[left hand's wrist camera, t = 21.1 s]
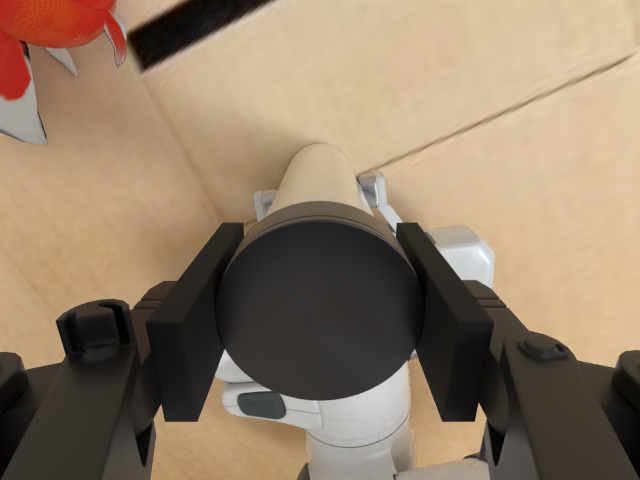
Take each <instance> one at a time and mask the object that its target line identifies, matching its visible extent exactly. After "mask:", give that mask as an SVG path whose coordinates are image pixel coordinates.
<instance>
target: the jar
mask: <svg viewBox="0 0 640 480" xmlns="http://www.w3.org/2000/svg"><path fill="white" fill-rule="evenodd" d="M308 201H332V202H338V203H344V204H347V205H350V206H354V207H356V208H358V209H361V210H363V211H365V212H367V213H369V214H370V215H372V216H373V217H374V215H373V212H372V210H371V208H370V206H369V204H368V202H367V199H366V197H365V195H364V193H363V191H362V189H361V186H360V184H359V182H358V180H357V178H356V176H355V173H354V171H353V169H352V167H351V165H350V162H349V161H348V159H347V157H346V156H345V155H344V154H343V153H342V152H341V151H340V150H339V149H337V148H336V147H334V146H331V145H328V144H323V143H317V144H312V145H308V146H306V147H304V148H302V149H301V150H300V151H298V152H297V153H296V154H295V156H294V157H293V158H292V160H291V162H290V164H289V166H288V169H287V171H286V173H285V175H284V177H283V179H282V182H281V184H280V186H279V188H278V190H277V192H276V195H275V197H274V199H273V201H272V203H271V206H270V208H269V210H268V212H267V214H266V216H268V215H269V214H271V213H273V212H275V211H277V210H279V209H281V208H284V207H287V206H289V205H292V204H297V203H301V202H308ZM266 216H265V217H266Z"/></svg>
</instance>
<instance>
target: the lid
mask: <svg viewBox="0 0 640 480" xmlns="http://www.w3.org/2000/svg"><path fill="white" fill-rule="evenodd" d="M424 314H425V302H424V295H423V290H422V287H421V284H420V281H419V279H418V277H417V275H416V273H415V270H414V269H413V267H412V265H411V263H410V261H409V259H408V258H407V256H406V254H405V252H404V250H403V248H402V247H401V245H400V243H399V242H398V240H397V239H396V237H395V236H394V234H393V233H392V232H391V231H390V230H389V229H388V228H387V227H386V226H385V225H384V224H383V223H381V222H380V221H379V220H378V219H377V218H375V217H373V216H372V215H370V214H369V213H367V212H365V211H363V210H361V209H358V208H356V207H354V206H350V205H347V204H344V203H338V202H332V201H308V202H301V203H297V204H292V205H289V206H287V207H284V208H281V209H279V210H277V211H275V212H273V213H271V214H269V215H268V216H266V217H265V218H263V219H262V220H261V221H259V222H258V223H257V224H256V225H255V226H254V227H253V228H252V229H251V230H250V231H249V232H248V233H247V235H246V236H245V237H244V238H243V240H242V241H241V243H240V245H239V247H238V248H237V250H236V252H235V254H234V256H233V257H232V259H231V261H230V263H229V265H228V266H227V268H226V270H225V272H224V274H223V276H222V279H221V281H220V283H219V286H218V290H217V294H216V300H215V317H216V325H217V330H218V334H219V336H220V339H221V342H222V344H223V346H224V348H225V350H226V351H227V353H228V355H229V356H230V358H231V359H232V360H233V362H234V363H235V364H236V365H237V366H238V367H239V368H240V369H241V370H242V371H243V372H244V373H245V374H246V375H247V376H248V377H250V378H251V379H252V380H254V381H255V382H257V383H258V384H260V385H262V386H263V387H265V388H267V389H269V390H271V391H274V392H276V393H279V394H282V395H285V396H288V397H292V398H296V399H303V400H312V401H327V400H337V399H343V398H348V397H351V396H355V395H358V394H361V393H364V392H366V391H368V390H371V389H373V388H374V387H376V386H378V385H380V384H382V383H383V382H385V381H386V380H387V379H389V378H390V377H392V376H393V375H394V374H395V373H396V372H397V371H398V370H399V369H400V368H401V367H402V366H403V365H404V364H405V363H406V361H407V360H408V359H409V357H410V356H411V354H412V353H413V351H414V350H415V348H416V345H417V343H418V341H419V339H420V336H421V333H422V329H423V323H424Z"/></svg>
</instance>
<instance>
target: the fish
mask: <svg viewBox="0 0 640 480" xmlns="http://www.w3.org/2000/svg"><path fill="white" fill-rule="evenodd" d="M116 1H117V0H0V132H1V133H3V134H6V135H8V136H11V137H13V138H15V139H18V140H20V141H22V142H28V143H35V144H42V145H47V139H46V133H45V130H44V127H43V124H42V121H41V119H40V116H39V113H38V107H37V101H36V94H35V88H34V82H33V75H32V69H31V63H30V57H29V51H28V47H27V44H26V42H27V43H30V44H34V45H39V46H43V48H44V49H45V50H46V51H47V52H48V53H50V54H51V55H52V56H53V57H54V58H56V59H57V60H58V61H59V62H60V63H61V64H63V65H64V66H65V67H66V68H67V69H68V70H69V71H70V72H71V73H72V74H73V75H74V76H76V77H78V73H77V71H76V68H75V65H74V62H73V60H72V58H71V56H70V54H69V53H68V51H67V49H66V48H71V47H77V46H81V45H85V44H87V43H89V42H91V41H92V40H94V39H95V38H97V37H98V36H99V35H101V34H102V33H103V31H105V32H106V34H107V36H108V38H109V39H110V41H111V43H112V45H113V48H114V53H115V62H116V65H117V66H118V67H119V66H120V64H122V63H123V62H124V61H125V59H126V28H125V23H124V21H123V20H122V19H121V18H120V17H119V16H117V15H116V14H115V13H114V11H115V8H116Z"/></svg>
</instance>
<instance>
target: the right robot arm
mask: <svg viewBox="0 0 640 480" xmlns="http://www.w3.org/2000/svg"><path fill="white" fill-rule="evenodd" d="M357 180H358V182H359V184H360V186H361V189H362V191H363V193H364V195H365V197H366V199H367V202H368V204H369V206H370V207H377V209H378V210H379V211H380V213H381V214H382V215H383V216H384V218H385V219H386V220H387V222H382V223H383V224H384V225H385V226H386V227H387V228H388V229H389V230H390V231H391V232H392V233H393V234H394V236H395V237H396V226H397V223H403V221H402V220H401V218H400V217H399V216H398V214H397V213H396V212H395V210H394V209H393V208H392V207H391V205H390V204H389V203H388V201H387V198H386V188H385V180H384V176H383V174H382V172H381V171H378V172H373V173H366V174H360V175H357ZM277 190H278V188H273V189H266V190H259V191H256V192H255V193H254V195H253V202H254V207H255V211H256V216H257V220H258V222H259V221H261V220H262V219H263V218H265V216H266V214H267V212H268V210H269V208H270V206H271V203H272V201H273V199H274V197H275V195H276V192H277ZM423 231H424V232H425V234H426V235H427V236H428V238H429V239H430V240H431V241H432V243H433V244H434V245H435V247H436V248H437V249H438V250H439V252H440V253H441V254H442V256H443V257H444V258H445V259H446V261H447V262H448V263H449V265H450V266H451V267H452V268H453V270H454V271H455V272H456V274H457V275H458V276H459V277H460V279H461V280H477V281H479V282H481V283H483V284H484V285H486V286H488V287H489V288H491V289H492V285H493V276H494V265H495V256H494V252H493V249H492V248H491V246H490V245H489V244H488V243H487V242H486V241H485V240H484V239H483V238H482V237H481V236H480V235H479V234H478V233H476V232H475V231H474V230H472V229H471V228H469V227H468V226H466V225H456V226H450V227H443V228H436V229H430V230H423ZM411 359H418V356H417V353H416V351H415V350H414V351H413V353H412V354H411V356H410V357H409V359H408V360H407V361H406V363H405V364H404V365H403V366H402V367H401V368H400V369H399V370H398V371H397V372H396V373H395V374H394V375H393V376H392V377H390V378H389V379H387V380H386V381H385V382H383V383H382V384H380V385H378V386H376V387H374V388H373V389H371V390H368V391H366V392H364V393H361V394H358V395H355V396H351V397H348V398H343V399H337V400H327V401H312V400H303V399H296V398H292V397H288V396H285V395H282V394H279V393H276V392H274V391H271V390H269V389H267V388H265V387H263V386H262V385H260V384H258V383H257V382H255V381H254V380H252V379H251V378H250V377H248V376H247V375H246V374H245V373H244V372H243V371H242V370H241V369H240V368H239V367H238V366H237V365H236V364H235V363H234V362H233V360H232V359H231V358H230V356H229V355H228V353H227V351H226V350H224V353H223V355H222V358H221V360H220V363H219V366H218V368H217V371H216V374H215V376H214V377H216V378H218V379H220V380H222V381H224V383H223V389H222V396H221V398H222V403H223V406H224V408H225V410H226V411H227V412H228V413H230V414H232V415H235V416H241V417H250V418H258V419H265V420H271V421H276V422H281V423H286V424H290V425H293V426H297V427H300V428H303V429H304V431H305V432H306V434H307V436H306V453H307V459H308V463H306V464H305V465H304V467H303V468H302V470H301V472H300V474H299V476H298V478H297V480H490V477H489V469H488V462H487V454H485V458H484V461H481V460H479V454H480V452H478V453H475V454H472V455H469V456H466V457H464V458H463V459H461V460H456V461H451V462H446V463H440V464H435V465H430V466H425V467H420V468H417V456H416V442H415V436H414V431H413V428H412V425H411V423H410V421H409V417H410V412H411V401H412V399H411V388H410V377H409V367H408V361H409V360H411Z"/></svg>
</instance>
